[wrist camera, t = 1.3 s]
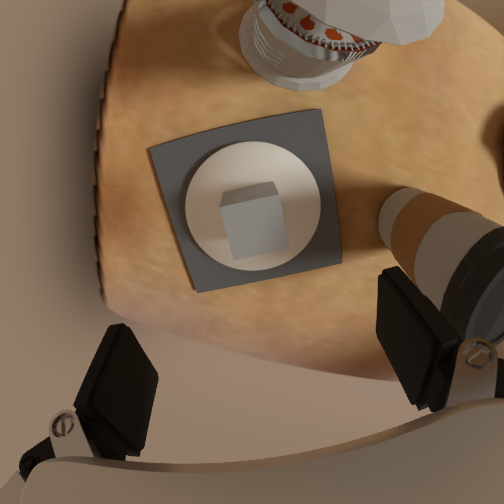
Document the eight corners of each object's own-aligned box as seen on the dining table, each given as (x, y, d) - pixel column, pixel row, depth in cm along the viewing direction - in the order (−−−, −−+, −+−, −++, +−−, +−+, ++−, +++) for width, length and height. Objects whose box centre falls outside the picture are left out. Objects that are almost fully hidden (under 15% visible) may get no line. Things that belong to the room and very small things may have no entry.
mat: (340, 260, 27) (342, 263, 26) (197, 290, 28) (197, 293, 27) (319, 108, 21) (320, 108, 20) (151, 147, 22) (149, 148, 21)
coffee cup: (354, 247, 26) (433, 362, 13) (382, 163, 23) (507, 225, 9) (418, 263, 27) (500, 357, 14) (446, 190, 24) (556, 257, 10)
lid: (325, 252, 26) (340, 279, 22) (207, 276, 27) (201, 308, 22) (306, 129, 21) (322, 132, 17) (171, 160, 22) (154, 171, 18)
